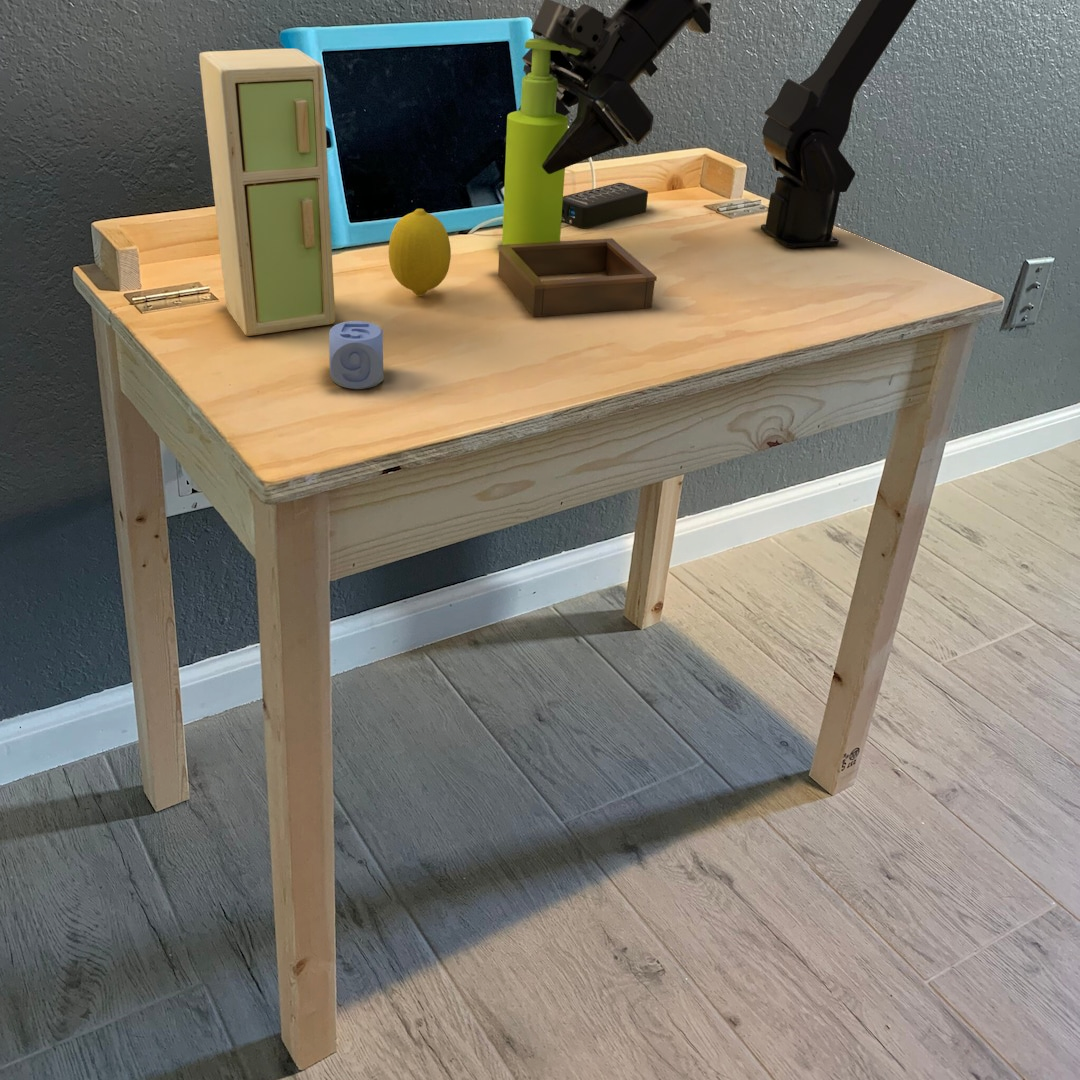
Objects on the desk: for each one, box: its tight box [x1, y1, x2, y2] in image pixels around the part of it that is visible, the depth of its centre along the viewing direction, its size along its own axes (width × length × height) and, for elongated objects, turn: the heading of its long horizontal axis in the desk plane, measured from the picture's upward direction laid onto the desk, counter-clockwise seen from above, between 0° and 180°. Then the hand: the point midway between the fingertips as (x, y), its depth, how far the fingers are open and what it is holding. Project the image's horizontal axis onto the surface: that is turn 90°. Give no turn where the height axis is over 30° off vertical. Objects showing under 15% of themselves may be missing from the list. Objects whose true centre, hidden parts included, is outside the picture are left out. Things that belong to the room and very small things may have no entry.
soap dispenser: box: [501, 38, 583, 245], centre depth 111 cm, size 6×7×20 cm
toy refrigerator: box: [199, 48, 336, 337], centre depth 92 cm, size 8×7×21 cm
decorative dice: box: [328, 320, 385, 390], centre depth 88 cm, size 4×4×4 cm
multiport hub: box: [561, 182, 649, 229], centre depth 127 cm, size 4×11×2 cm, turn 136°
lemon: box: [388, 208, 452, 297], centre depth 102 cm, size 6×6×8 cm
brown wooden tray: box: [497, 237, 658, 318], centre depth 106 cm, size 12×11×3 cm
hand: (525, 157), depth 110 cm, fingers open, 9 cm apart
